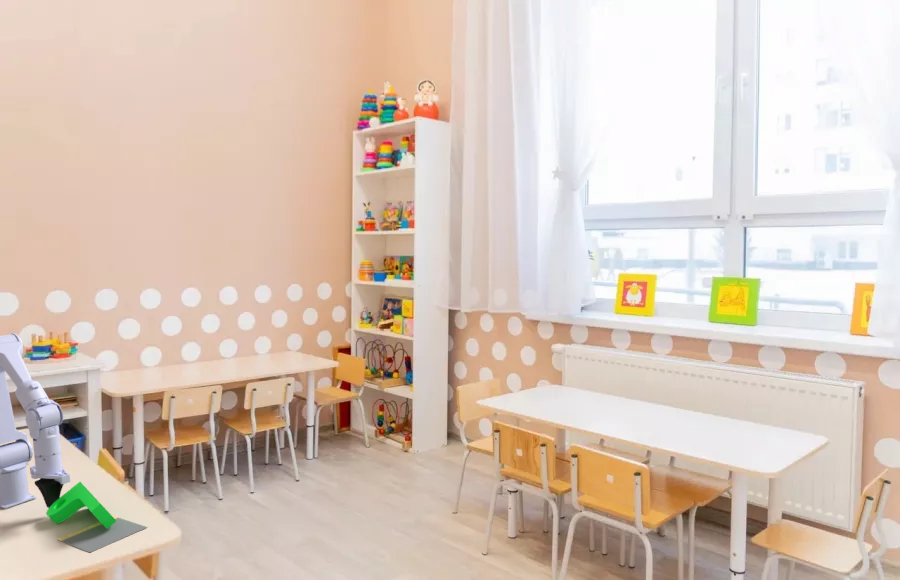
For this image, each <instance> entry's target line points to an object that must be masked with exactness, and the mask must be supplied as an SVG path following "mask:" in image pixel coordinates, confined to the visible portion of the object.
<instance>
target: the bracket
mask: <svg viewBox="0 0 900 580" xmlns="http://www.w3.org/2000/svg"><path fill="white" fill-rule="evenodd" d="M83 508H87V509H88V510H89V511H90V513H91V514H92V515H93V516H94V517H95V519H97V520H98V521H99V522H101V523H102V524H103V525H104V526H105V527H106V528H107V529H108V528H109V527H111V526H112V525H113V524H114V523H115V522H116V520H115V519H114V518H113V517H114V516H113V515H112V514H111V513H110V512H109V511H108V510H107V509H106V508H105V507H104V505H102V503H100V501H99V500H98V499H97V498H96V497H95V496H94V495H93V493H91V492H90V490H89V489H87V487H86V486H85V485H84V484H83V483H82V482H81V481H79V482H77V483H76V484H75V485H74V486H72V487H71V488H70V489H69V490H68V491H66V492H65V493H64V494H63V495H60V498H59V499H58V500H56V501H55V502H54V503H53V504H52V505H51V506H50V507H49V508H48V509H47V510H46V512H45V513H46V516H47V517H48V518H49V519H50V520H51V521H52V522H53V523H54V524H60V523H63V522H64V521H66V520H67V519H68V518H70V517H71V516H73V515H74V514H75V513H77V512H78V511H79V510H80V509H83Z"/></svg>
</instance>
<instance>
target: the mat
mask: <svg viewBox="0 0 900 580" xmlns="http://www.w3.org/2000/svg"><path fill="white" fill-rule="evenodd" d="M112 517H113V518H114V519H115V520H116V522H115V523H114V524H113V525H112V526H111V527H109V528H108V529H107V528H106V527H105V526H104V525H103V524H102V523H101V522H100V521H99V522H97V523H94V524H92V525H89V526H86V527H84V528H82V529H79V530H77V531H75V532H72V533H70V534H67V535H65V536H62V537H60V538H57V541H59V542H62V543H64V544H66V545H67V544H68V545H69V546H72V547H75V548H76V549H79V550H82V551H85V552H87V553H90V554H91V553H93V552H95V551H97V550H99V549H102V548H104V547H106V546H108V545H111V544H113V543H115V542H117V541H120V540H122V539H125V538H126V537H129V536H131V535H133V534H137V533H138V532H140V531H144V530H146V529H147V528H148V526H145V525H141V524H138V523H136V522H133V521H130V520H126V519H124V518H121V517H118V516H115V515H114V516H112Z"/></svg>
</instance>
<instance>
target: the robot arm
mask: <svg viewBox="0 0 900 580" xmlns="http://www.w3.org/2000/svg"><path fill="white" fill-rule="evenodd" d="M23 344H24V343H23V340H22V338H21V336H19V335H18V334H17V333H15V332H13V333H9V334H3V335H0V508H1V509H8V508H11V507H14V506H17V505H20V504H23V503H26V502H29V501H31V500H35V499H36V498H37V496H36V495H33V494H30V493H29V482H28V475H27V474H28V472H27V466H29V465H30V463H29V462H31V461H32V459H33V457H34V465H32V466H29V472H30V473H29V474H30V477H31V479H34V480H35V481H34V485H35V486H36V488H38V490H39V491H40V493H41V495H42V498H43V500H44V503H45V506H46V508H48V509H49V507H50V506H51V505H52V504H53V503H54V502H55V501H56V500H58V499H59V498H60V497H61V494H62V493H61V492H62V490H63V487H64V485H65V484H68V483H71V474H69V473H68V472H67V471H66V469H65V468H64V467H63V460H62V459H63V457H62V447H61V436H60V425H62V423H63V421H64V412H63V410H62V407H61V405H60V404H59V403H58V402H55V400H53V399H50V398H49V396H48V395H47V393H46V391H45V390H44V388H43V386H42V384H41V383H40V382H39V381H37V380H32V379H33V378H32V377H31V375H30V372H29V370H28V367H27V366H26V363H25V361H24V359H23V353H24V345H23ZM6 375H8V377H9V378H10V380H11V381H12V382H13V384H14V386H16V389H15V392H14V394H15V397H16V398H17V400H18V402H19V403H20V405H21V407H22V408H23V410H24V412H25V413H26V415H25V424H26V426H27V428H28V432H29V436H28V434H27V433H25V432H23V431H20V430H19V429H17V427H16V421H15V417H14V412H13V406H12V402H11V396H10V391H9V385H8V380H7V376H6ZM29 437H30V438H31V439H32V443H31V442H30V440H29ZM32 445H33V446H32ZM37 479H38V480H37Z"/></svg>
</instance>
